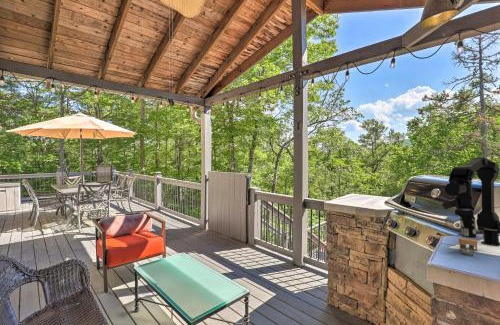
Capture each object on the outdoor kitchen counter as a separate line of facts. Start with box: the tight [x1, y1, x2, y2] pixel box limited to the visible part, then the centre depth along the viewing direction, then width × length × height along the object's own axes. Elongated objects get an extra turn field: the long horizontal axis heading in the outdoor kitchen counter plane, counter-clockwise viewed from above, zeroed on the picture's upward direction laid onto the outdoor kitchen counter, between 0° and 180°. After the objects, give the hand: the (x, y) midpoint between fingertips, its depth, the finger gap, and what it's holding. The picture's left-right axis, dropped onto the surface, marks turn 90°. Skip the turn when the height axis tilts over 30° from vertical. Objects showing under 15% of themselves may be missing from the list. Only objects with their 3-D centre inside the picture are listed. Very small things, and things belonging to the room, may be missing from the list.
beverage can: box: [459, 214, 477, 239], centre depth 146 cm, size 7×7×12 cm
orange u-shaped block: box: [458, 237, 478, 252], centre depth 125 cm, size 3×6×4 cm, turn 49°
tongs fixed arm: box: [461, 245, 475, 257], centre depth 124 cm, size 20×4×2 cm, turn 139°
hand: (466, 228), depth 121 cm, fingers closed
